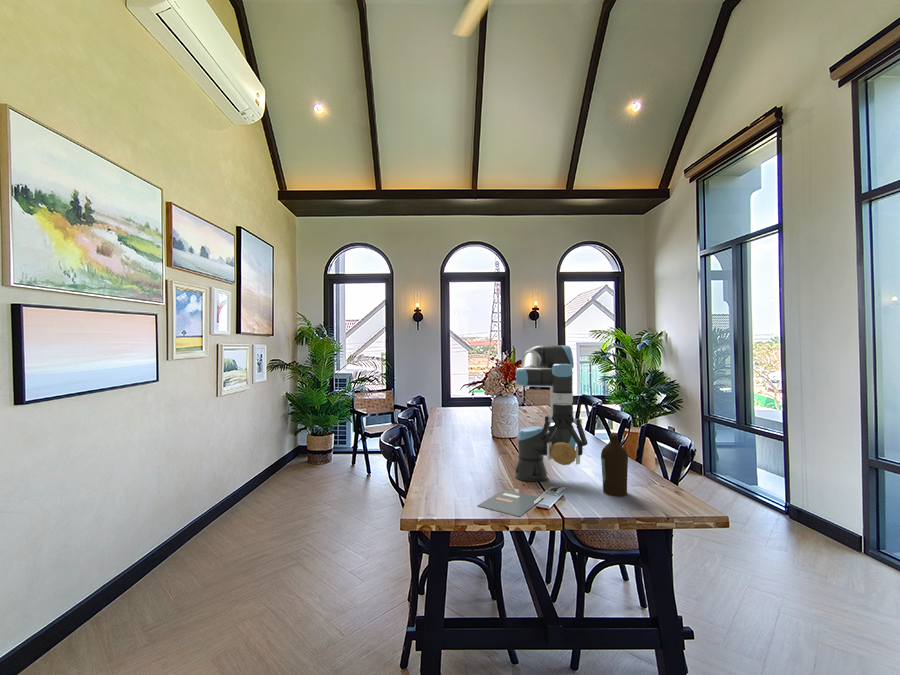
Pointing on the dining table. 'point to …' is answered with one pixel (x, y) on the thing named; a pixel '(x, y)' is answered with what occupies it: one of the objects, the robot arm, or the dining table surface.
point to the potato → (563, 453)
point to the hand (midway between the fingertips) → (563, 461)
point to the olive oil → (614, 467)
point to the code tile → (509, 503)
